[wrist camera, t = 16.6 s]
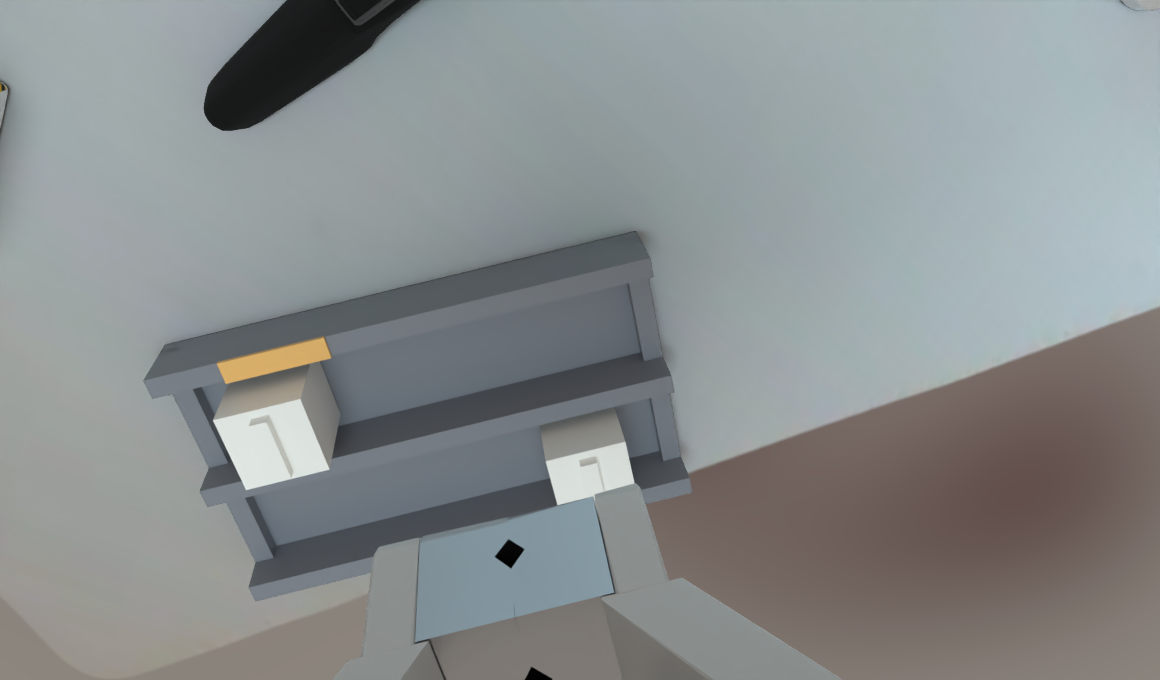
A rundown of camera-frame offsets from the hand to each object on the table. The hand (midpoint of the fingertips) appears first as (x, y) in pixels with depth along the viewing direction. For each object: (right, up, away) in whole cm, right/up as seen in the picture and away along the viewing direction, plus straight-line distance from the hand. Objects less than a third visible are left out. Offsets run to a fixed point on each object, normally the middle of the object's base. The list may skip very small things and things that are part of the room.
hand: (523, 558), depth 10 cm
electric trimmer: (-9, +17, +29) cm, 35 cm away
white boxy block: (+1, -2, +39) cm, 39 cm away
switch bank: (-7, -1, +38) cm, 38 cm away
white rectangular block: (-14, 0, +35) cm, 38 cm away
